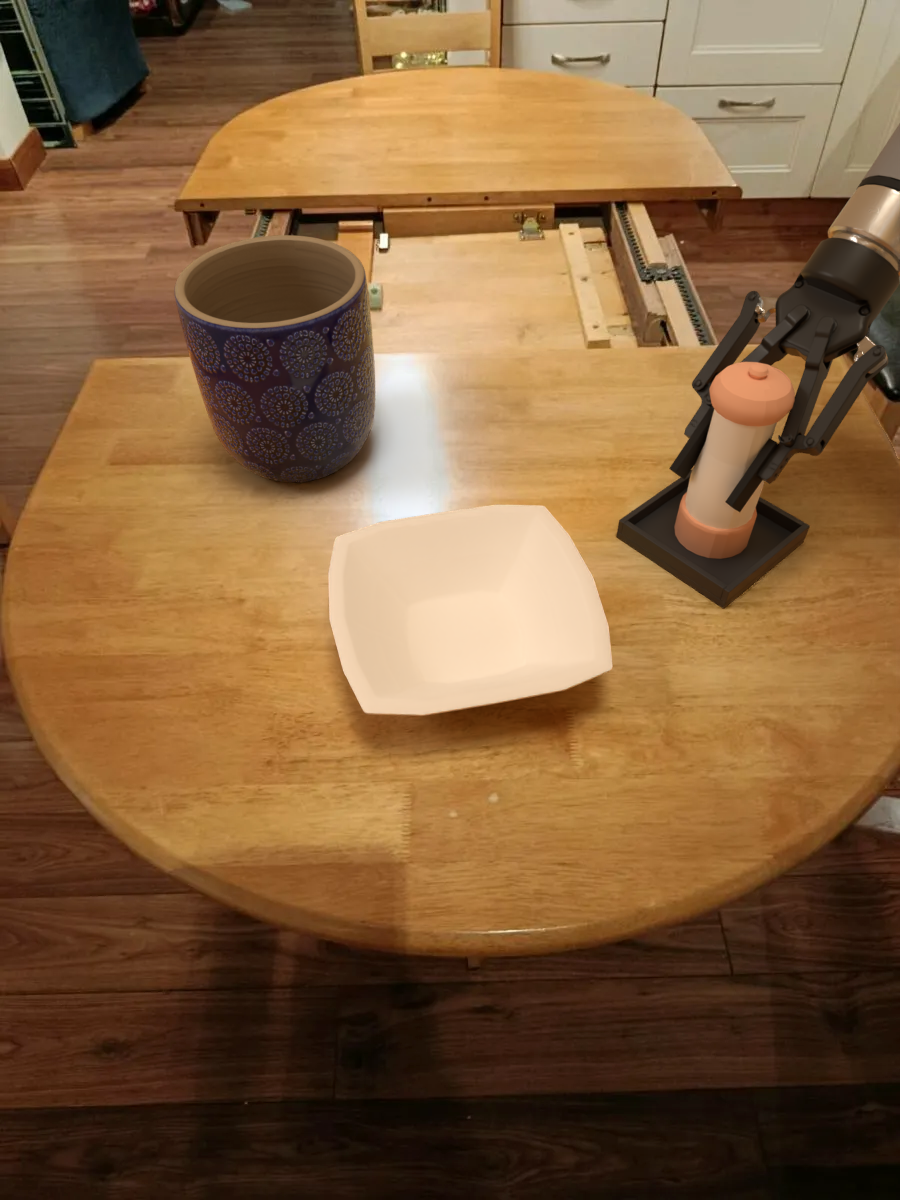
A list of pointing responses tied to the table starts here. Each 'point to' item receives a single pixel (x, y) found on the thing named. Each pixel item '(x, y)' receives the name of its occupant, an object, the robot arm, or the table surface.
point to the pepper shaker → (731, 457)
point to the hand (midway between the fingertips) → (704, 490)
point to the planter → (282, 352)
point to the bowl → (464, 610)
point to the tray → (709, 576)
